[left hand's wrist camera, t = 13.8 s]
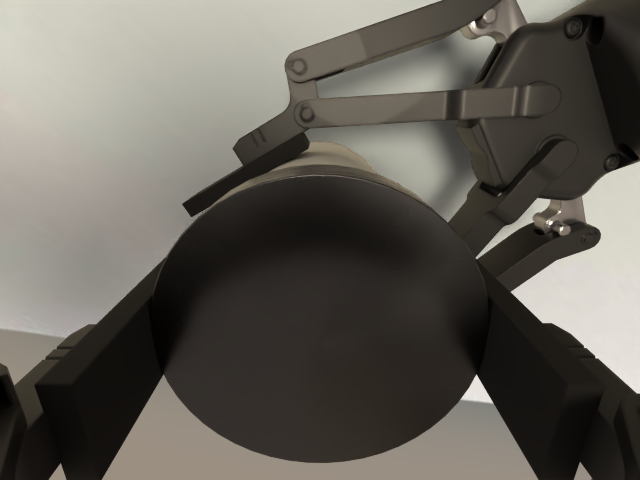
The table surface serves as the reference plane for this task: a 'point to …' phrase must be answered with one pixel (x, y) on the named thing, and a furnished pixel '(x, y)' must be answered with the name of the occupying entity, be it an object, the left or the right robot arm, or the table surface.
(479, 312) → the lid
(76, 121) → the table surface
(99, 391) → the left robot arm
